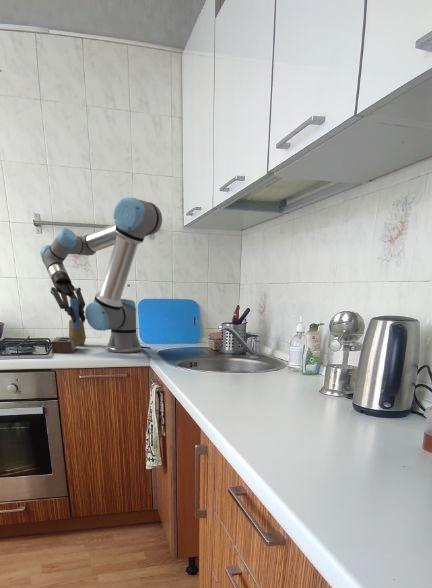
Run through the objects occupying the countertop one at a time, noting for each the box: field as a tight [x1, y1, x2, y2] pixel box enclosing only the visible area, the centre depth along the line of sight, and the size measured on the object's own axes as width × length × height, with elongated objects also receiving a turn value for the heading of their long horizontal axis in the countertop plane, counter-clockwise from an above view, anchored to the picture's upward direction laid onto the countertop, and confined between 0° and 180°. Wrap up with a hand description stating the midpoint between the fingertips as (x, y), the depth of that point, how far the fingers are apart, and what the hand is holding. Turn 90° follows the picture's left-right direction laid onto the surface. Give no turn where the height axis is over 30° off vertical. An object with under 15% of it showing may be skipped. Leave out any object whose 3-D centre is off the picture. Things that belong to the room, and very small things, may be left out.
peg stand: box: [50, 336, 77, 354], centre depth 214 cm, size 9×15×5 cm, turn 9°
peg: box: [69, 298, 80, 329], centre depth 200 cm, size 3×3×12 cm
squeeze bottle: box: [68, 318, 87, 347], centre depth 227 cm, size 8×8×18 cm
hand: (79, 320), depth 198 cm, fingers closed on peg, 3 cm apart
